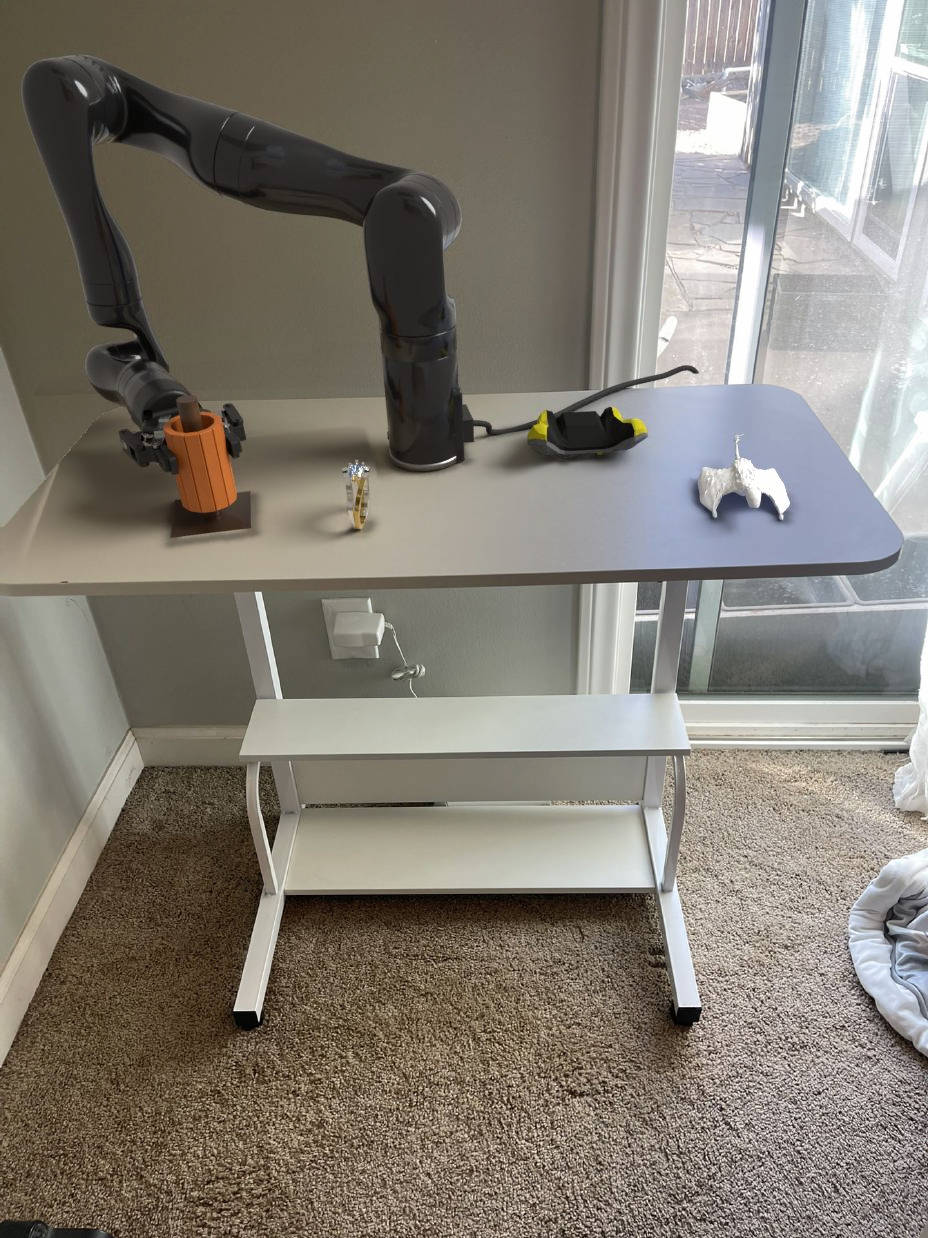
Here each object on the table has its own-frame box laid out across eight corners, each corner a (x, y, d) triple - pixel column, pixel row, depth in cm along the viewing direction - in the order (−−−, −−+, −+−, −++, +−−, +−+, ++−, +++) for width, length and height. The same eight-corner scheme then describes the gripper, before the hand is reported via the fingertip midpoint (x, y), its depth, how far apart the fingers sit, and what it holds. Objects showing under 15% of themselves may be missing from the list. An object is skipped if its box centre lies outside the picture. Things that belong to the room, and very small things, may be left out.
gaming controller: (648, 466, 115) (632, 432, 123) (652, 425, 112) (635, 393, 120) (529, 472, 115) (520, 437, 123) (529, 431, 112) (521, 399, 120)
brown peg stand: (251, 496, 112) (229, 379, 103) (252, 533, 105) (228, 410, 96) (176, 505, 111) (147, 387, 102) (171, 543, 104) (139, 420, 95)
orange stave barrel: (237, 483, 109) (221, 408, 104) (236, 508, 104) (220, 431, 99) (184, 490, 109) (165, 415, 103) (181, 515, 104) (161, 438, 98)
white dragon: (690, 456, 117) (694, 426, 115) (772, 458, 116) (778, 428, 114) (704, 529, 103) (709, 496, 100) (798, 532, 102) (805, 499, 99)
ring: (368, 543, 103) (361, 479, 98) (340, 541, 103) (332, 477, 98) (382, 512, 108) (376, 450, 103) (356, 510, 109) (349, 449, 104)
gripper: (94, 392, 108) (131, 443, 96) (212, 365, 113) (261, 410, 102) (111, 450, 112) (149, 506, 101) (224, 421, 118) (272, 471, 106)
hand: (205, 458), depth 101 cm, fingers closed on orange stave barrel, 6 cm apart
